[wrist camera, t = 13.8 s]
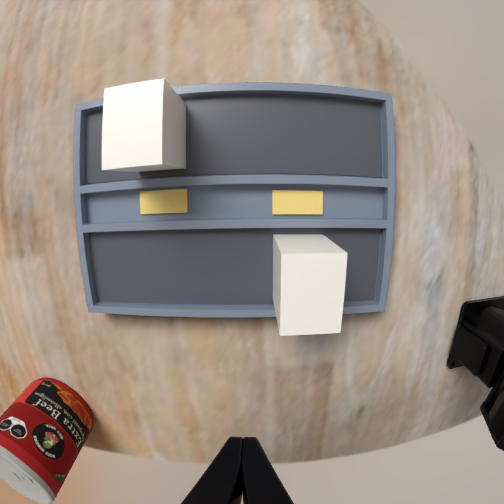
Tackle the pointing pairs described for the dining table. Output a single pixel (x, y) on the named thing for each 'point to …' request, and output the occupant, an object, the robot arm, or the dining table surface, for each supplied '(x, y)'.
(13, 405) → the canned food
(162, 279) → the divided tray
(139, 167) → the cream rectangular block
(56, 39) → the dining table surface
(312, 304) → the white block
